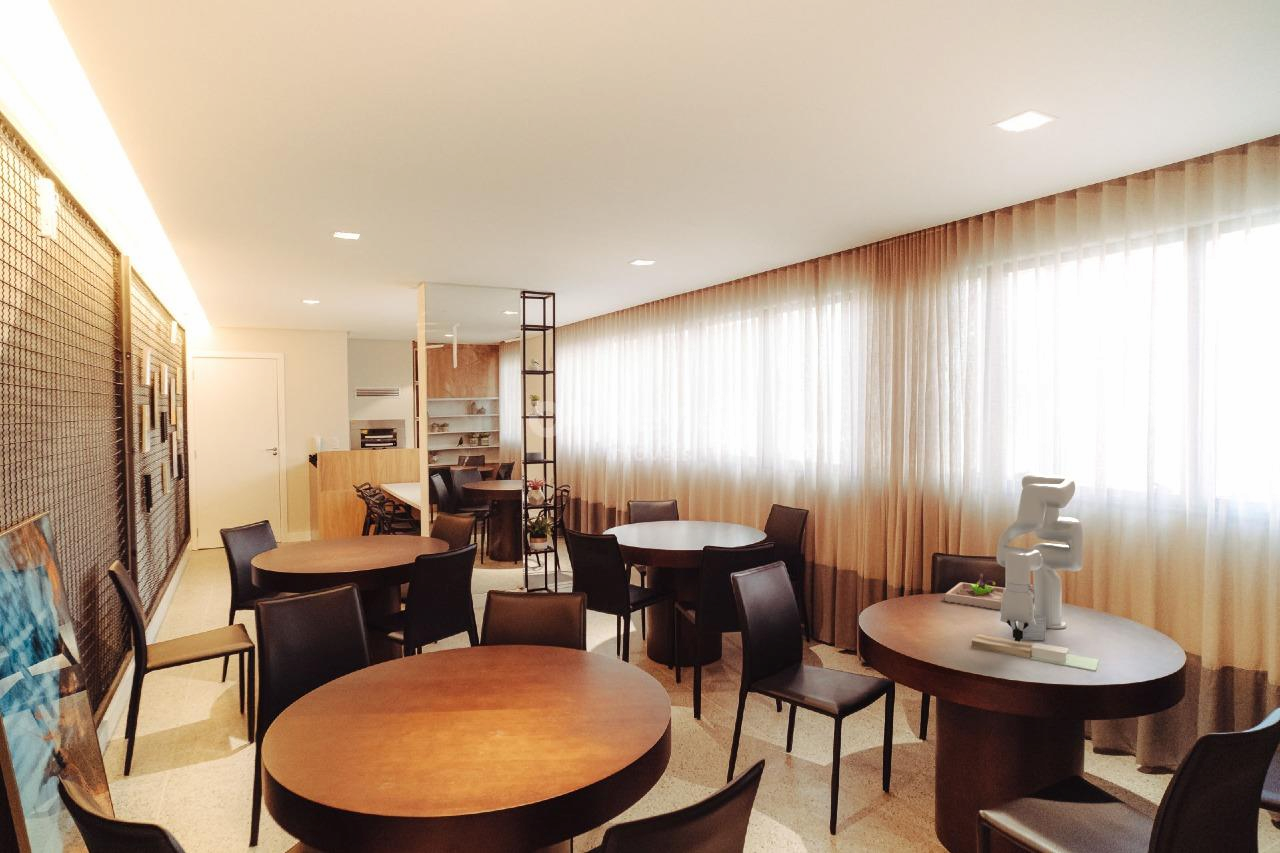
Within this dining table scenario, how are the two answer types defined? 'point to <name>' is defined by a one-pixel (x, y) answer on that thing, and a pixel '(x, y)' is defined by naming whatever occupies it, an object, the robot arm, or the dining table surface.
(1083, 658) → the mat
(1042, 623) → the medicine box
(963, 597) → the planter tray
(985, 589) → the plant
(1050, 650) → the cream rectangular block
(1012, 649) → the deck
